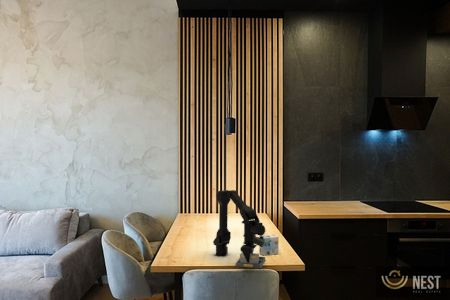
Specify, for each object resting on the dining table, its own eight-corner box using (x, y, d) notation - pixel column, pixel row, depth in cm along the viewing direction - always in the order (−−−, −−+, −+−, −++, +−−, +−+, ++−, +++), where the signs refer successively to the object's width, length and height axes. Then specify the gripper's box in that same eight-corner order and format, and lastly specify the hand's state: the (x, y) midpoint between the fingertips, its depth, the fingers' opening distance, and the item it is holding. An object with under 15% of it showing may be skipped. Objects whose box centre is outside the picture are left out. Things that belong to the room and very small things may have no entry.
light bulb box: (262, 255, 221) (262, 237, 221) (259, 252, 228) (258, 235, 228) (279, 254, 224) (278, 236, 224) (275, 251, 230) (274, 234, 230)
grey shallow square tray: (235, 266, 201) (235, 263, 201) (241, 258, 215) (241, 255, 215) (260, 268, 197) (260, 265, 197) (265, 260, 212) (265, 256, 212)
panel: (239, 265, 202) (239, 254, 202) (241, 263, 206) (241, 252, 206) (257, 266, 200) (257, 255, 200) (259, 264, 204) (258, 253, 204)
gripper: (260, 237, 192) (261, 266, 192) (266, 229, 210) (266, 256, 210) (240, 236, 195) (240, 265, 195) (247, 228, 213) (247, 255, 213)
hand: (249, 260), depth 203 cm, fingers open, 7 cm apart
